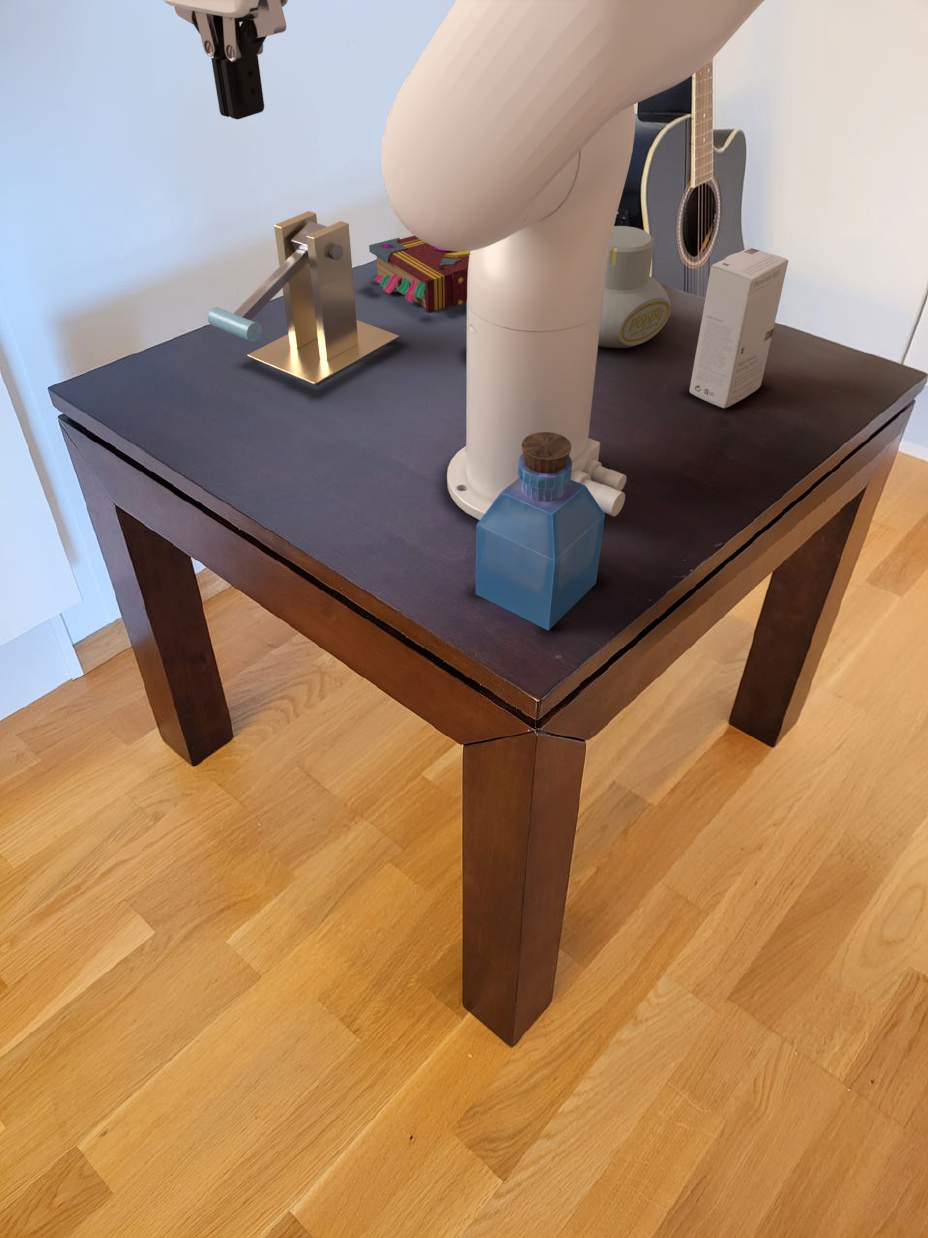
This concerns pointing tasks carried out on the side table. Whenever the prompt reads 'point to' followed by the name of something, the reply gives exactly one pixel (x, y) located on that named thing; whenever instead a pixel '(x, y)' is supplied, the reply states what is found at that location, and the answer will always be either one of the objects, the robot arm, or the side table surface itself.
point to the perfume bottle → (540, 536)
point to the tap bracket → (320, 308)
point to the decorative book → (422, 272)
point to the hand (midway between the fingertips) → (242, 112)
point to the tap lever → (264, 291)
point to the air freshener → (631, 292)
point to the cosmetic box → (737, 326)
